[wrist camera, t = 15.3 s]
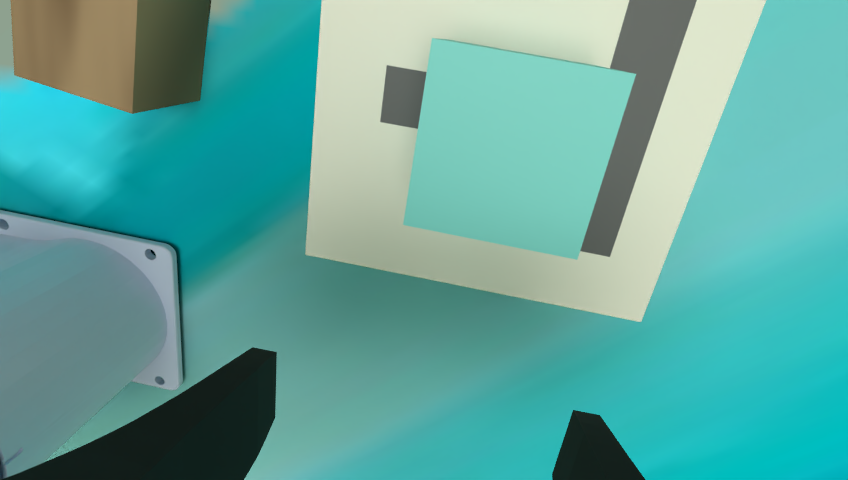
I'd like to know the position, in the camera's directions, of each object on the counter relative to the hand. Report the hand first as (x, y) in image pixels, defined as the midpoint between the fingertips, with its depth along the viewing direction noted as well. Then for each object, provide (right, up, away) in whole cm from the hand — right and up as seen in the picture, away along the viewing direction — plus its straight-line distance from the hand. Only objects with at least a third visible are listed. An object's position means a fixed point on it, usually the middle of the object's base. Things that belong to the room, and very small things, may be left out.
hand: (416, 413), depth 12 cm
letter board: (+3, +9, +6) cm, 11 cm away
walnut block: (-8, +11, +5) cm, 14 cm away
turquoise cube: (+3, +8, +6) cm, 10 cm away
